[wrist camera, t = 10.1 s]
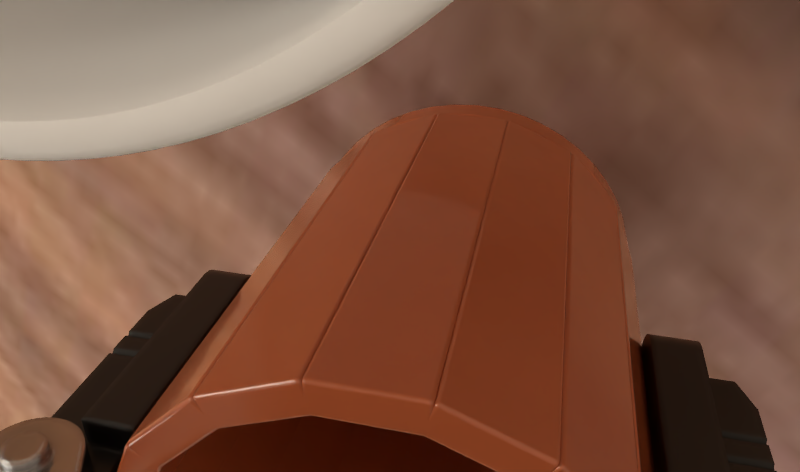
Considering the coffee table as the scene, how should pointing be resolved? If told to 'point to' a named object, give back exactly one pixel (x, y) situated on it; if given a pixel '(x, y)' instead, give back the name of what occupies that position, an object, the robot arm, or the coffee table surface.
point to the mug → (174, 66)
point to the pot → (426, 319)
